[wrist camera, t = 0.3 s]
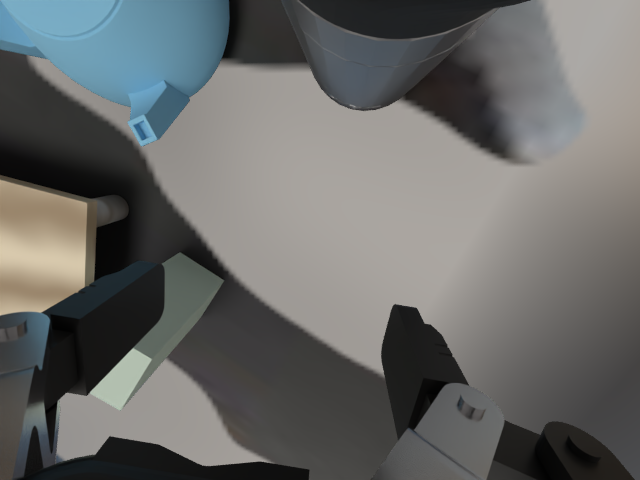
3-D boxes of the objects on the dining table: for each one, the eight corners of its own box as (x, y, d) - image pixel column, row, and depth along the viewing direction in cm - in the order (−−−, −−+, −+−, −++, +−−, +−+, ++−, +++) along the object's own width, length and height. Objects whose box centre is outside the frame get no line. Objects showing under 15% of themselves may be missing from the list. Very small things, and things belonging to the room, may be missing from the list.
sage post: (180, 252, 30) (78, 315, 19) (224, 280, 31) (151, 359, 19) (158, 290, 32) (51, 371, 20) (201, 317, 32) (120, 410, 21)
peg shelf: (-71, 136, 29) (-173, 133, 23) (138, 192, 29) (87, 202, 23) (-54, 289, 34) (-136, 318, 28) (127, 337, 34) (81, 376, 28)
